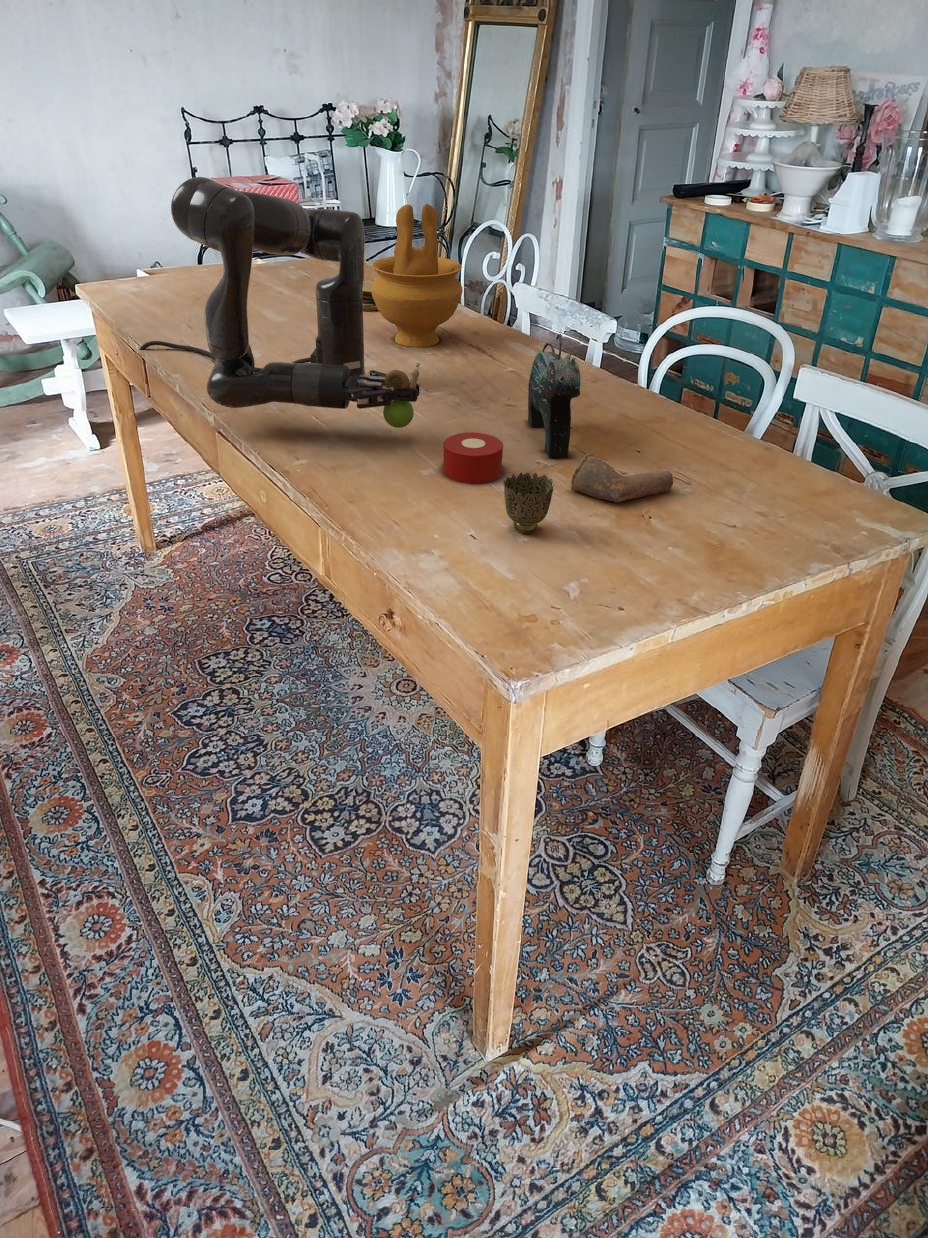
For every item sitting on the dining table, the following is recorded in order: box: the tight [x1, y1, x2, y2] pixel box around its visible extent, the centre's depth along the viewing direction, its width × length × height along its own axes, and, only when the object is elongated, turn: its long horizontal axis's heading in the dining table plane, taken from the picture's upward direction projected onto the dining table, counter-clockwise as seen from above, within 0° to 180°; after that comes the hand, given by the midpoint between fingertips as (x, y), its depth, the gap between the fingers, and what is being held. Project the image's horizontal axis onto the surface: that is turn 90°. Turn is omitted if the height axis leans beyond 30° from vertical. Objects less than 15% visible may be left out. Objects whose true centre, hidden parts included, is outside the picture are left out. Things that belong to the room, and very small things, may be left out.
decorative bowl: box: [371, 203, 463, 348], centre depth 213 cm, size 21×21×30 cm
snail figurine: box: [382, 362, 420, 429], centre depth 165 cm, size 5×6×12 cm
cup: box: [503, 471, 555, 535], centre depth 140 cm, size 8×7×8 cm
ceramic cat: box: [527, 333, 581, 459], centre depth 167 cm, size 20×6×20 cm, turn 9°
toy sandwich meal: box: [362, 279, 379, 312], centre depth 244 cm, size 12×14×5 cm
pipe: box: [570, 453, 674, 503], centre depth 153 cm, size 6×17×10 cm
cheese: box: [442, 431, 504, 484], centre depth 158 cm, size 10×10×5 cm
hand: (417, 392), depth 165 cm, fingers closed on snail figurine
